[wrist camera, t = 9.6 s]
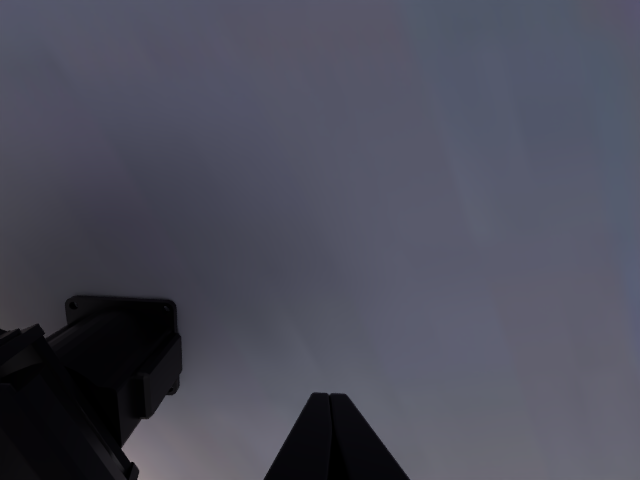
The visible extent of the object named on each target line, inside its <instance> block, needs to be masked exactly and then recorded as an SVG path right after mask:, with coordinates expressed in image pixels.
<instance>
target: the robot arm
mask: <svg viewBox="0 0 640 480" xmlns="http://www.w3.org/2000/svg"><path fill="white" fill-rule="evenodd" d="M74 302H75V303H76V304H77V305H78V307H77V306H76V305H75V304H74ZM164 306H166V307H168V308H169V310H170V311H166V310H165V308H164ZM65 309H66V317H67V325H66V326H65V327H63V328H62V329H60V330H59V331H57V332H55V333H54V334H52V335H51V336H49V337H47V338H46V339H45V338H44V336H43V335H44V334H45V333H44V331H43V330H42V328H41V327H40V325H39V324H35V325H33V326H31V327H28V328H26V329H24V330H21V331H20V329H19V328H18V329H15V330H13V331H10V330H9V331H5V330H2V329H0V480H137V478H138V475H139V469H138V468H137V466H136V465H135V463H134V462H130V461H129V460H128V458H127V457H126V455H125V454H124V452H123V451H122V449H121V448H122V447H123V445H124V444H125V442H126V441H127V439H128V438H129V436H130V435H131V434H132V432H133V431H134V429H135V428H136V426H137V425H138V423H139V422H140V421H141V419H149V418H150V417H151V416H152V415H153V414H154V412H155V411H156V409H157V408H158V406H159V405H160V403H161V402H162V400H163V399H164V397H165V396H166V395H173V394H175V393H176V392H177V390H178V388H179V386H180V382H179V374H180V373H181V371H182V348H181V336H180V335H179V333H177V309H176V305H175V303H174V302H172V301H170V300H158V299H137V298H117V297H97V296H73V297H71V298H70V299H68V300H67V301H66V302H65ZM171 387H173V388H171ZM264 480H410V479H409V477H408V476H407V475H406V473H405V472H404V471H403V469H402V468H401V467H400V465H399V464H398V463H397V461H396V460H395V459H394V457H393V456H392V455H391V453H390V452H389V451H388V449H387V448H386V447H385V445H384V444H383V443H382V441H381V440H380V439H379V437H378V436H377V435H376V433H375V432H374V431H373V429H372V428H371V426H370V425H369V424H368V422H367V421H366V420H365V418H364V417H363V416H362V414H361V413H360V412H359V410H358V409H357V408H356V406H355V405H354V404H353V402H352V401H351V400H350V398H349V397H348V396H347V395H346V394H341V393H331V394H330V395H329V394H328V393H317V392H314V393H312V394H311V396H310V398H309V399H308V401H307V403H306V405H305V407H304V408H303V410H302V412H301V414H300V415H299V417H298V419H297V421H296V423H295V424H294V426H293V428H292V430H291V431H290V433H289V435H288V437H287V439H286V440H285V442H284V444H283V446H282V448H281V449H280V451H279V453H278V455H277V456H276V458H275V460H274V462H273V464H272V465H271V467H270V469H269V471H268V472H267V474H266V476H265V478H264Z"/></svg>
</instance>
